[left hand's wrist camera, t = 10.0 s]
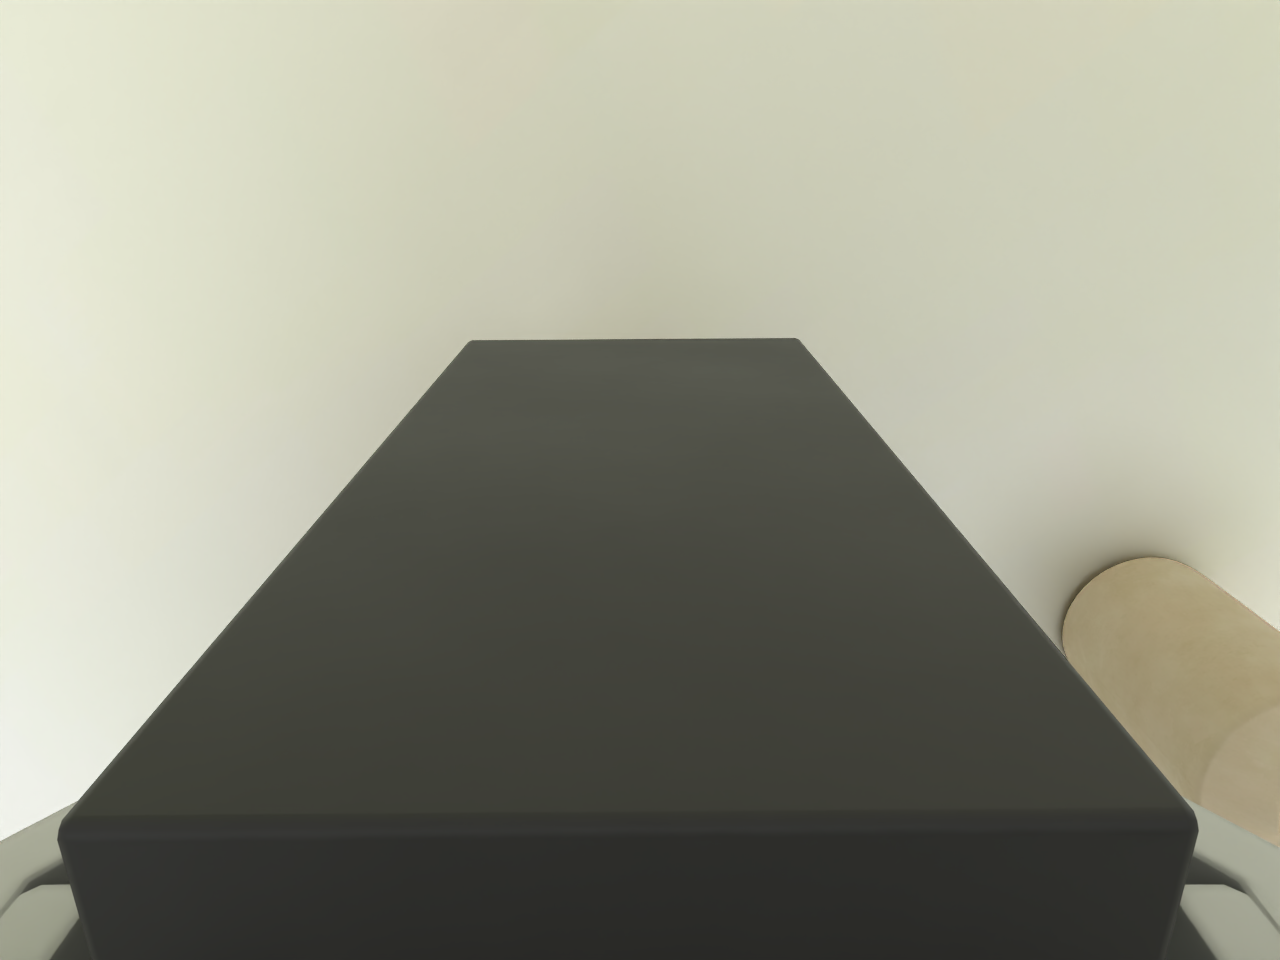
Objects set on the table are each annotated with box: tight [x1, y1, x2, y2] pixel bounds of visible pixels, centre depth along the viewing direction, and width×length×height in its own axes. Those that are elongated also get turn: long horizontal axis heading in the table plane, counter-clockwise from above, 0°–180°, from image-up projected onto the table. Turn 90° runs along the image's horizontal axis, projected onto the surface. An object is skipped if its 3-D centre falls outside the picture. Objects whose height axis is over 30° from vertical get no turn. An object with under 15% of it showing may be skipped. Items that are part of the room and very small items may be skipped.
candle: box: [1062, 557, 1280, 847], centre depth 28 cm, size 6×6×10 cm
